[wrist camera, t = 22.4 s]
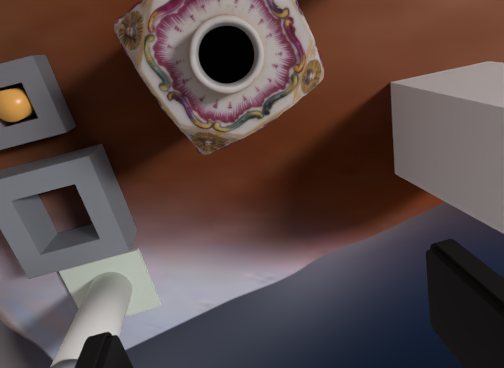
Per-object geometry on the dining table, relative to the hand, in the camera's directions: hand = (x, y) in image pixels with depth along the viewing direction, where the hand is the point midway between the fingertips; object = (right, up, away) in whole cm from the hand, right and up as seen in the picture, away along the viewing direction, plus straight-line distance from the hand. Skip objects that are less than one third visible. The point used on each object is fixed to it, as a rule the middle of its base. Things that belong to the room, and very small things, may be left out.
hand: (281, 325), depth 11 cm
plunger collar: (-25, +13, +28) cm, 39 cm away
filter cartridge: (-19, -9, +36) cm, 42 cm away
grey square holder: (-22, +2, +32) cm, 39 cm away
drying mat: (-19, -9, +37) cm, 42 cm away
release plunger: (-25, +13, +28) cm, 39 cm away
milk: (+22, +12, +34) cm, 42 cm away
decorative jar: (-4, +18, +29) cm, 34 cm away
